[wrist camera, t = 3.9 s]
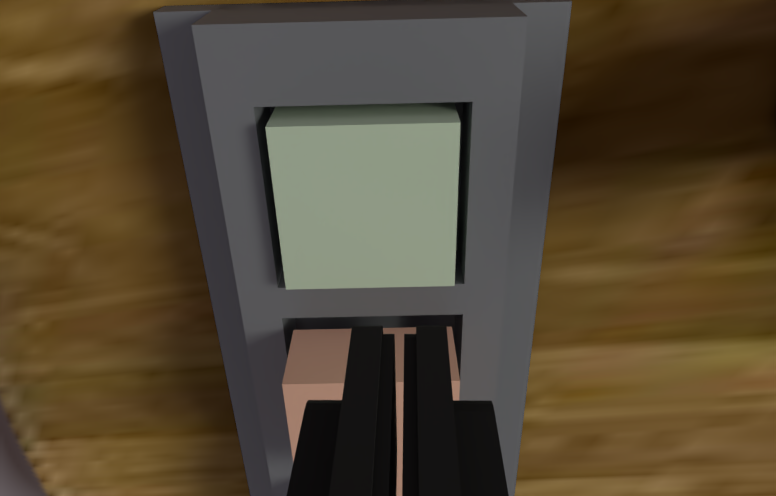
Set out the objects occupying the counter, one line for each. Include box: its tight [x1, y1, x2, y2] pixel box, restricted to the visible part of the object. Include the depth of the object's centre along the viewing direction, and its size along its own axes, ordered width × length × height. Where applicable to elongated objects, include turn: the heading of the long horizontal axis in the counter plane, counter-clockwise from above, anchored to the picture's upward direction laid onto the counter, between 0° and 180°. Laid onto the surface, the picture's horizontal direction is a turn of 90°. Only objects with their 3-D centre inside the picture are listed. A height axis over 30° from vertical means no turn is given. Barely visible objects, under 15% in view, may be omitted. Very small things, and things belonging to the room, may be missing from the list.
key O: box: [282, 327, 460, 496], centre depth 19 cm, size 5×5×2 cm
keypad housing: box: [153, 0, 572, 496], centre depth 23 cm, size 29×11×3 cm, turn 1°
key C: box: [265, 102, 461, 290], centre depth 18 cm, size 5×5×2 cm
